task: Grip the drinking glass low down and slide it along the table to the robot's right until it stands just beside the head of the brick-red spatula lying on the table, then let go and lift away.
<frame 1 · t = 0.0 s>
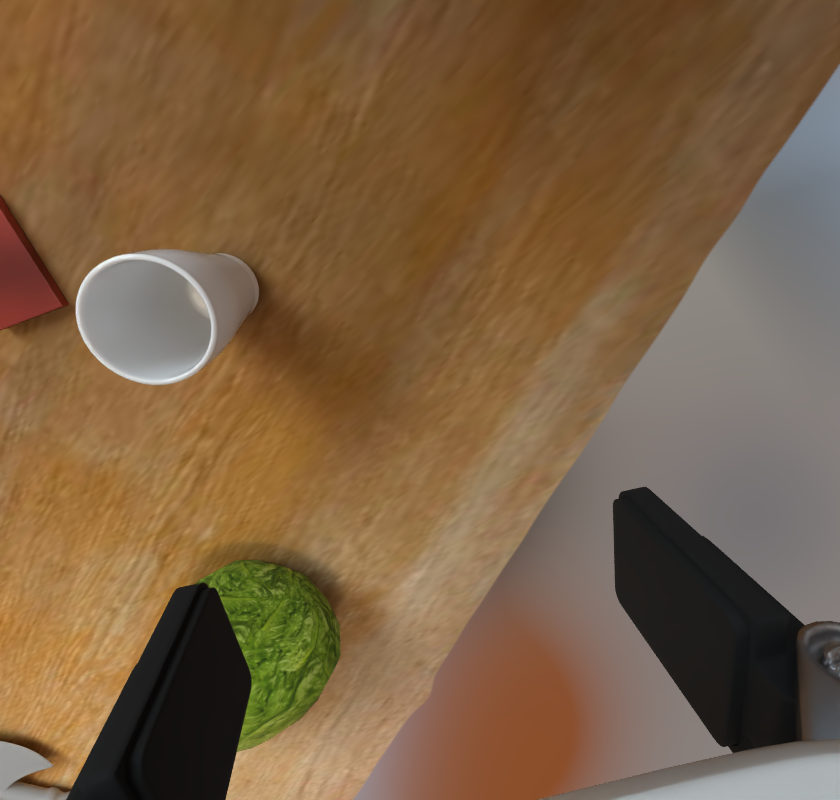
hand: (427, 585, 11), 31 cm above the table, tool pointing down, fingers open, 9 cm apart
axe: (97, 795, 55), on the table
drinking glass: (226, 287, 38), on the table
lettuce: (252, 631, 50), on the table
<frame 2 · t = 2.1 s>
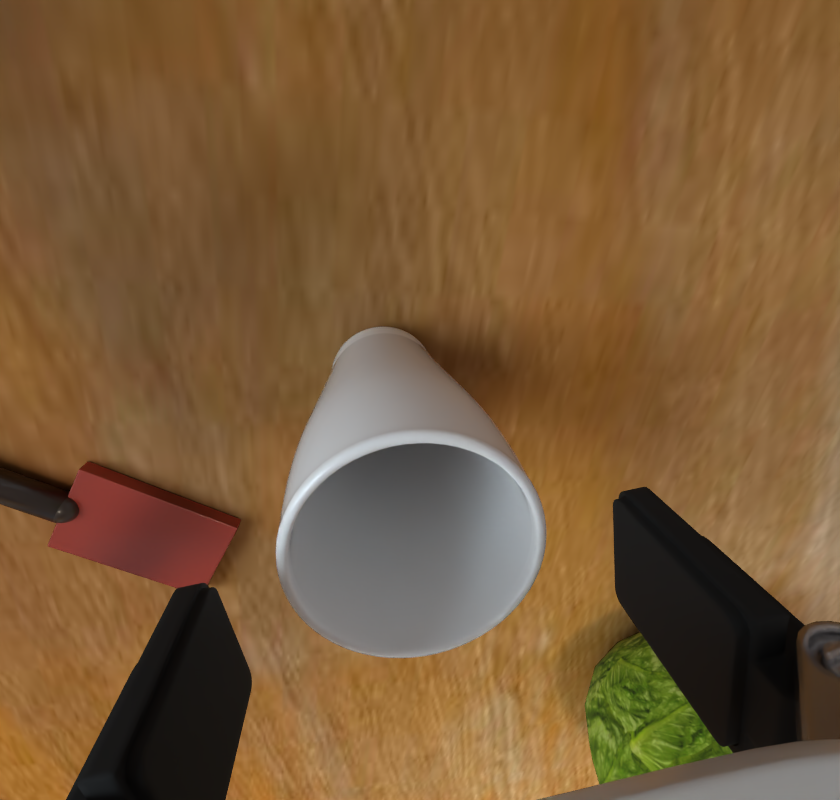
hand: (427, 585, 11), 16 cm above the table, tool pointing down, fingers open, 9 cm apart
drinking glass: (382, 372, 26), on the table
spatula: (52, 492, 25), on the table
lettuce: (654, 700, 38), on the table
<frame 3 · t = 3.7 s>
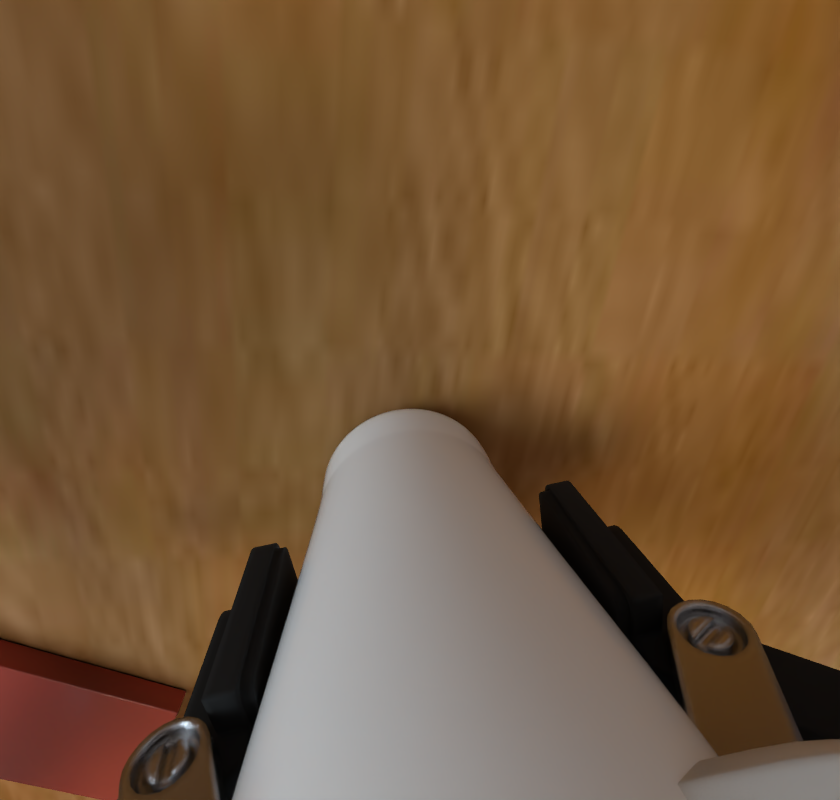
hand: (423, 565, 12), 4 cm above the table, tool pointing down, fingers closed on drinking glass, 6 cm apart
drinking glass: (406, 474, 16), on the table, touching gripper
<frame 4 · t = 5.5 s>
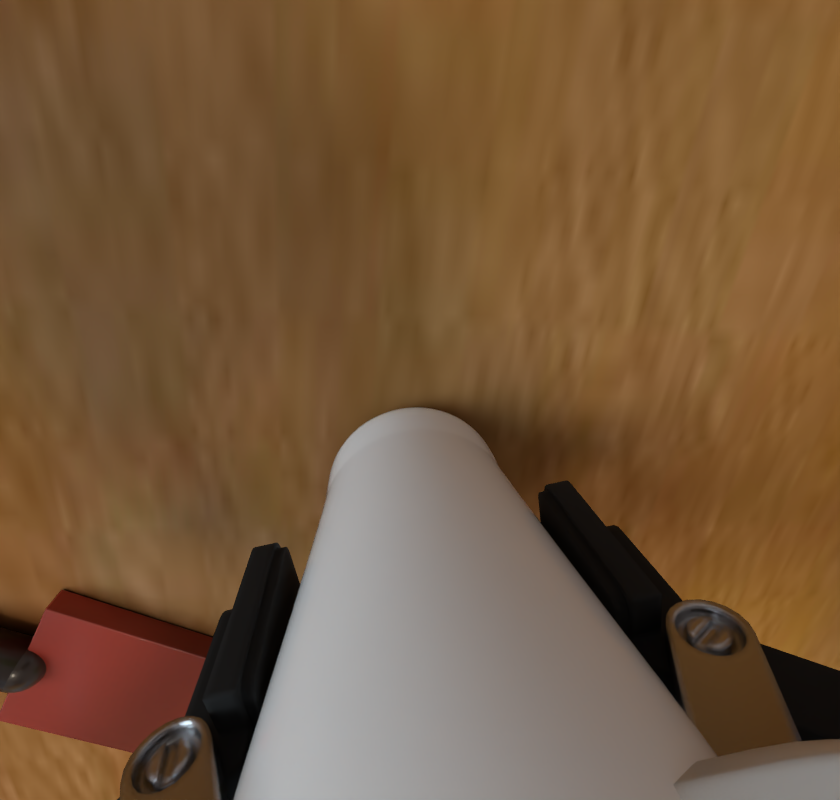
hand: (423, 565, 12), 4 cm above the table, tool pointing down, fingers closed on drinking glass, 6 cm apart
drinking glass: (411, 473, 16), on the table, touching gripper
spatula: (4, 635, 16), on the table
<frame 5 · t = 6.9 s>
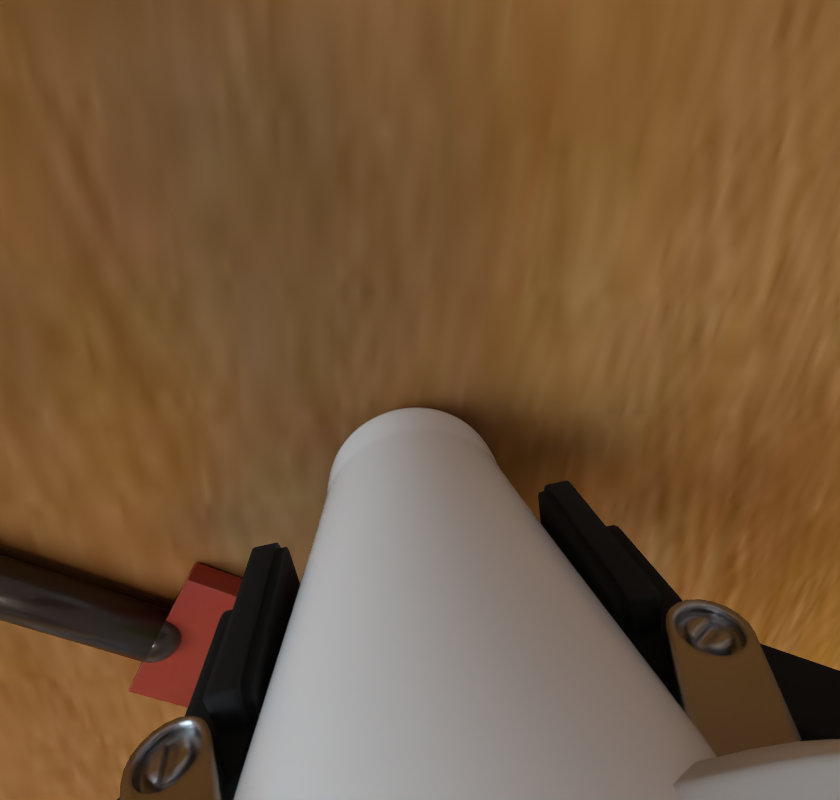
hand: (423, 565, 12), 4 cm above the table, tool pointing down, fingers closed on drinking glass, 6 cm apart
drinking glass: (411, 473, 16), on the table, touching gripper
spatula: (137, 607, 16), on the table
when the fingers open (4 cm above the table, at t = 7.6 s): drinking glass stays where it is, on the table.
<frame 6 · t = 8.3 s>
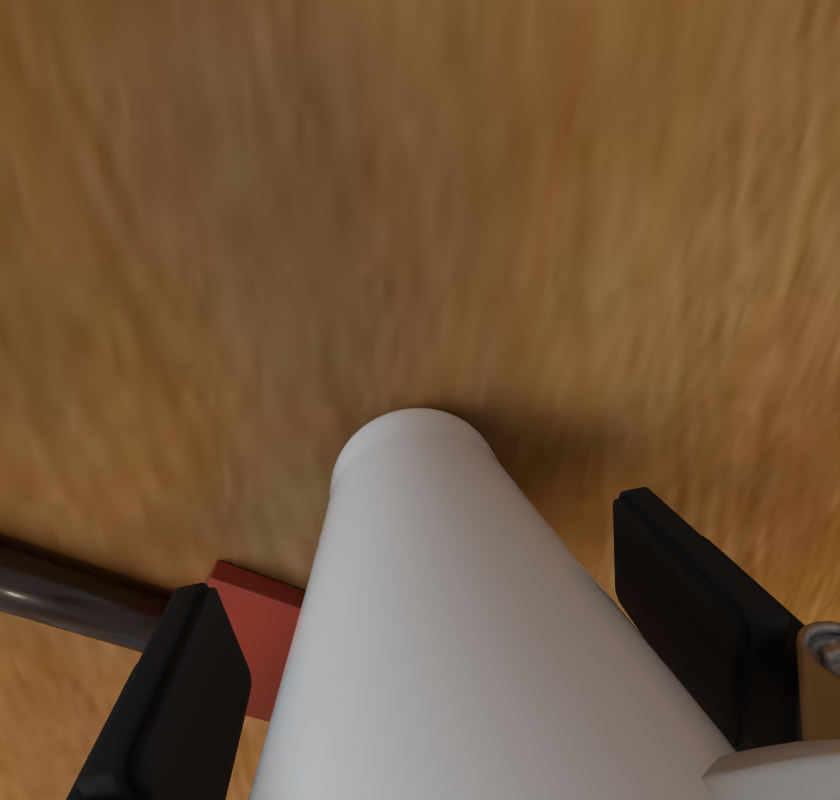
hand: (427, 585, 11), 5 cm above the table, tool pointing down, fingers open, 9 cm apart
drinking glass: (412, 473, 16), on the table
spatula: (159, 605, 16), on the table
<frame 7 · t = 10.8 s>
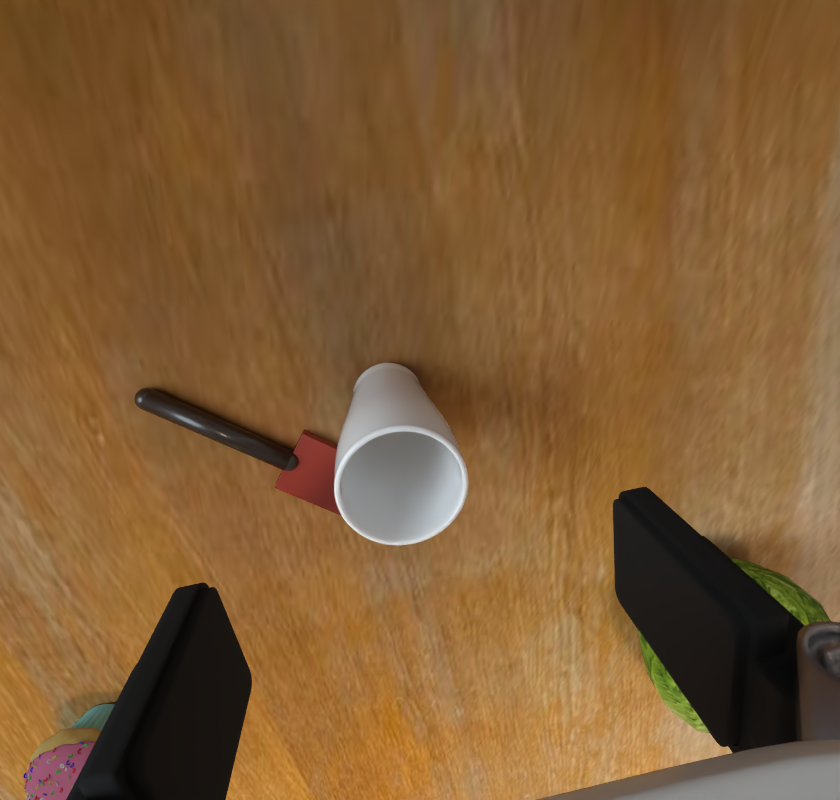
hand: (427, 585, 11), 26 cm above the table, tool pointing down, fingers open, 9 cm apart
drinking glass: (387, 392, 37), on the table
cupcake: (110, 720, 45), on the table
spatula: (278, 451, 38), on the table
lettuce: (684, 625, 49), on the table
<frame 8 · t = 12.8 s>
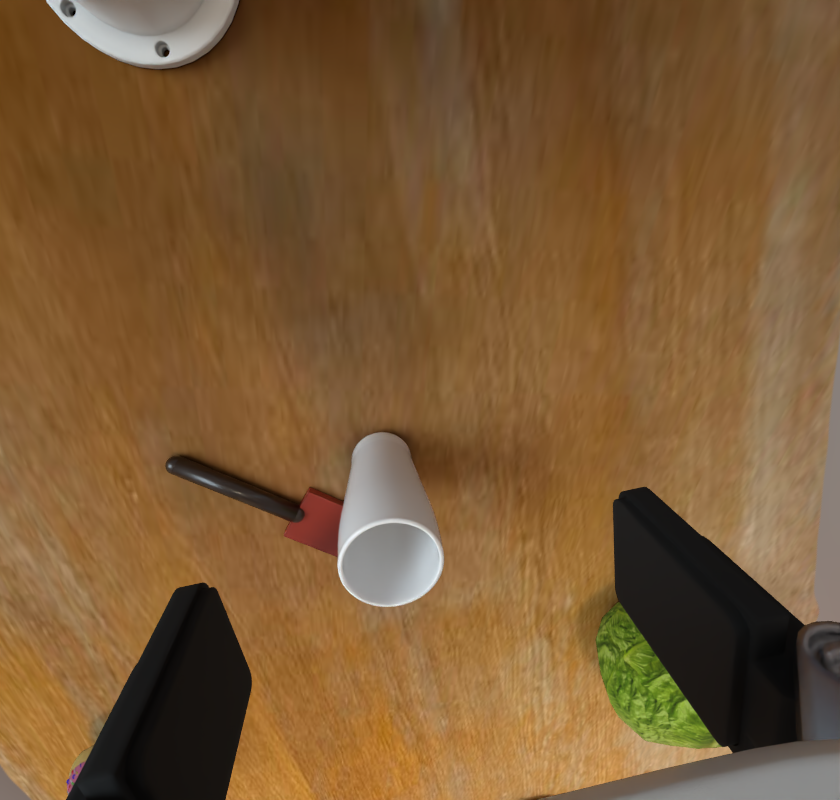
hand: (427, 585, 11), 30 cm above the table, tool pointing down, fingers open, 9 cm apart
drinking glass: (381, 455, 43), on the table
cupcake: (137, 731, 51), on the table
spatula: (287, 504, 44), on the table
lettuce: (642, 646, 56), on the table
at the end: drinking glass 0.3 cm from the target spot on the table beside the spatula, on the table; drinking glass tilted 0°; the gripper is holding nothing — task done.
